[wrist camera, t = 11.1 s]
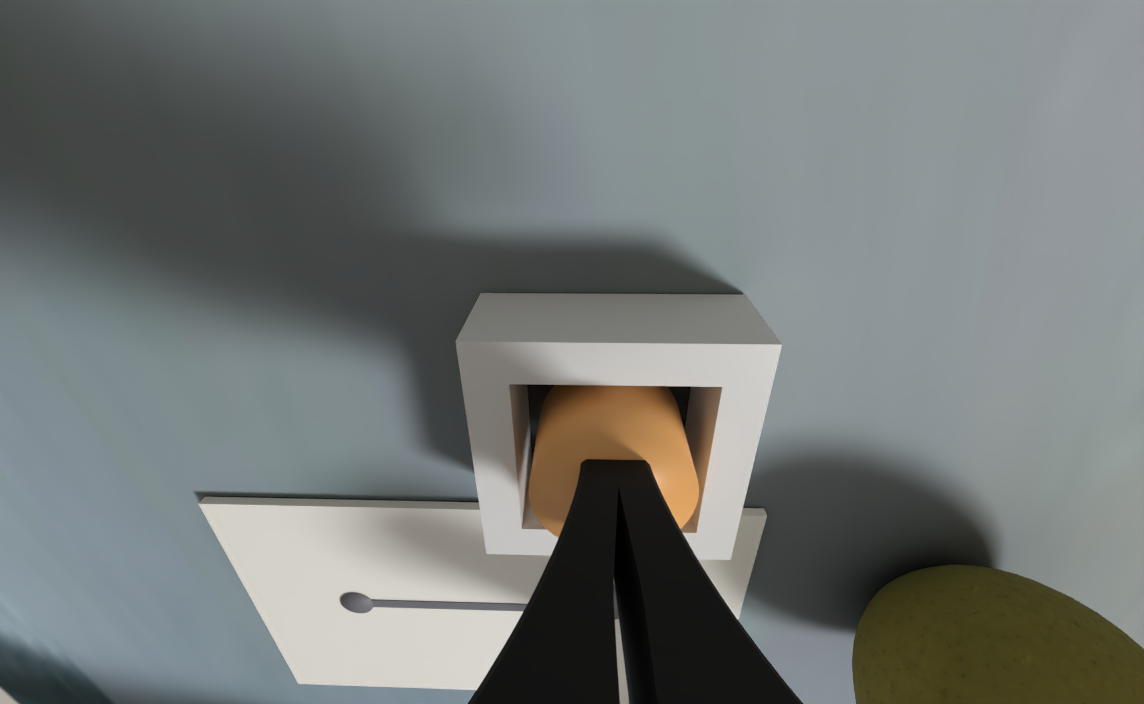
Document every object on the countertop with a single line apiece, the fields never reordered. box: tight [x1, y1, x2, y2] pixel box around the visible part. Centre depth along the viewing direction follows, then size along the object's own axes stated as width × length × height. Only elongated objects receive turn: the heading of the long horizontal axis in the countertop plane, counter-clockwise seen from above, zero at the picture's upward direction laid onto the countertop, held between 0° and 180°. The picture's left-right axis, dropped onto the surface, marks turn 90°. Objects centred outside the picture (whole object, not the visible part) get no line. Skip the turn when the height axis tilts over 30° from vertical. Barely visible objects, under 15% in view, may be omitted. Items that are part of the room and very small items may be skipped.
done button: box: [529, 385, 699, 538], centre depth 11 cm, size 4×4×2 cm
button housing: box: [455, 293, 782, 560], centre depth 12 cm, size 6×6×2 cm
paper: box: [199, 497, 767, 690], centre depth 18 cm, size 11×18×1 cm, turn 91°
